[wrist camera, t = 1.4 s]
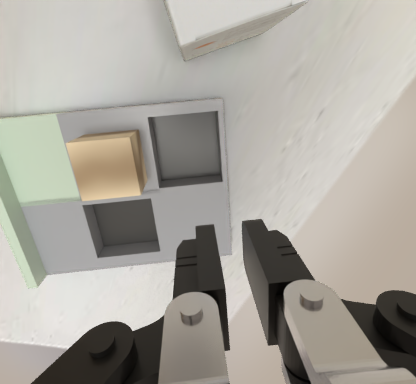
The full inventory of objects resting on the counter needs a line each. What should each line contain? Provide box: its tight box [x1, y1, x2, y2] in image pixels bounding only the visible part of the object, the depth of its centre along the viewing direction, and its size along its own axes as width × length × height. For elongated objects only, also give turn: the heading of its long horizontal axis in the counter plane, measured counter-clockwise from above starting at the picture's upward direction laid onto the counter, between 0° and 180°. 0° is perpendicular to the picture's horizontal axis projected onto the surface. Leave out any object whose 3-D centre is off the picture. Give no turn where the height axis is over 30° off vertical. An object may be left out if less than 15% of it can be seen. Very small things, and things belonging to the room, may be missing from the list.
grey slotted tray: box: [0, 98, 232, 289], centre depth 27 cm, size 17×22×4 cm
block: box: [66, 129, 148, 201], centre depth 24 cm, size 5×5×4 cm
